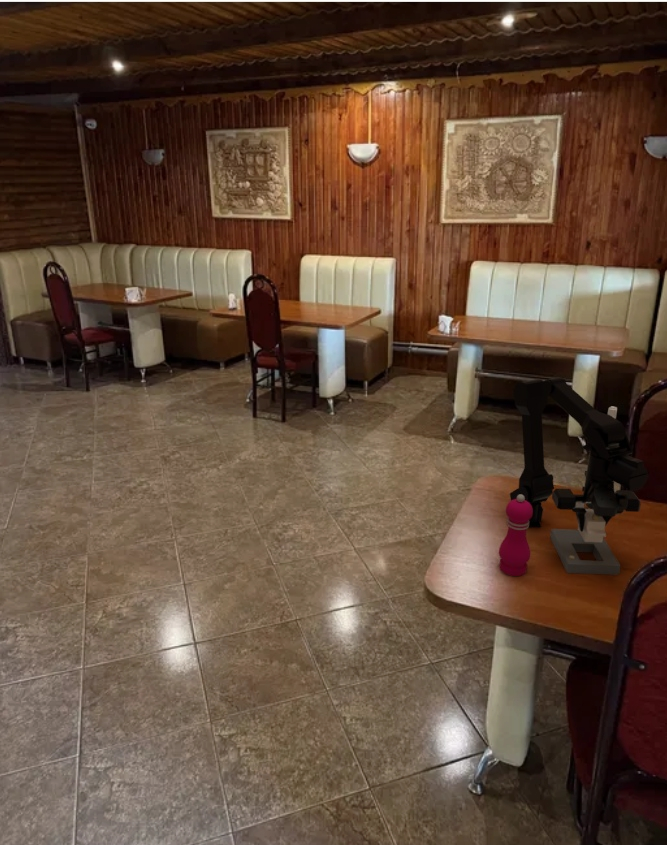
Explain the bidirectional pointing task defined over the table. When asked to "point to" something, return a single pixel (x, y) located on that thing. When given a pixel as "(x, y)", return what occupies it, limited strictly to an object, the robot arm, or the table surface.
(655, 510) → the table surface
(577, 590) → the table surface
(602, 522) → the servo
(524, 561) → the pepper mill
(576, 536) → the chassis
